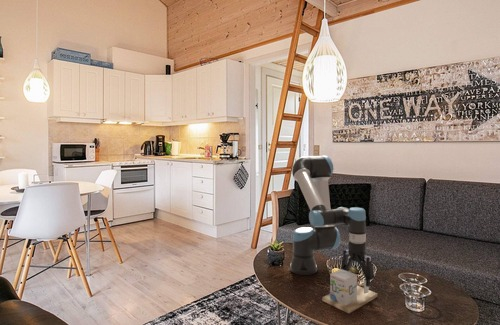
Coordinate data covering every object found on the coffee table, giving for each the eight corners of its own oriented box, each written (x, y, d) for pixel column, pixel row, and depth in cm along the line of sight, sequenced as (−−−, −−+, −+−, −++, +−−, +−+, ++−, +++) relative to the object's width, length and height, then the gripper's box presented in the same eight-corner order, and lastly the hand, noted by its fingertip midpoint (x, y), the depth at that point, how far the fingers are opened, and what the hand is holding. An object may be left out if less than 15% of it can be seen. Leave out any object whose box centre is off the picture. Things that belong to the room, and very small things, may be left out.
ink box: (329, 298, 139) (329, 273, 138) (341, 292, 144) (341, 268, 143) (345, 306, 132) (345, 279, 132) (357, 299, 137) (357, 274, 137)
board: (322, 300, 140) (322, 297, 140) (351, 286, 154) (351, 283, 154) (348, 313, 129) (348, 309, 129) (377, 296, 143) (377, 293, 143)
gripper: (332, 237, 150) (333, 283, 151) (374, 249, 133) (373, 300, 134) (342, 234, 154) (342, 278, 156) (383, 245, 137) (383, 294, 138)
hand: (357, 288), depth 145 cm, fingers open, 9 cm apart
